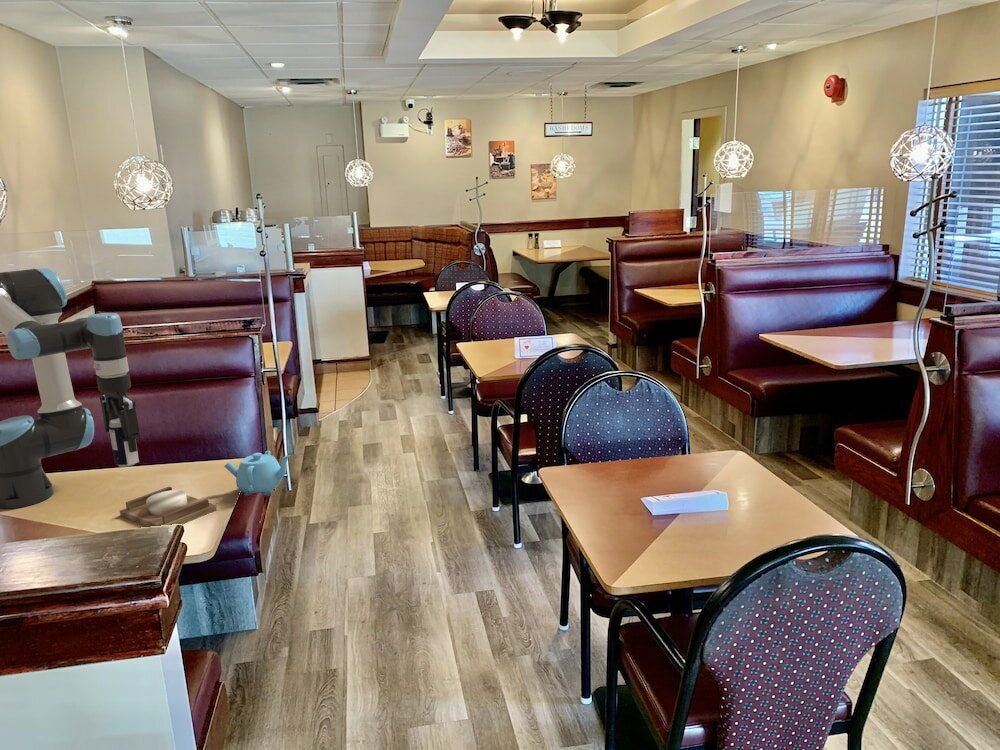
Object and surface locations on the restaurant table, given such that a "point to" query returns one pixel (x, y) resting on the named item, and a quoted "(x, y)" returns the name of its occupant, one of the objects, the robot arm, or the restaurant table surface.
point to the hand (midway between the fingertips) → (127, 461)
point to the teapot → (258, 473)
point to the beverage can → (118, 443)
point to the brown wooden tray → (166, 508)
